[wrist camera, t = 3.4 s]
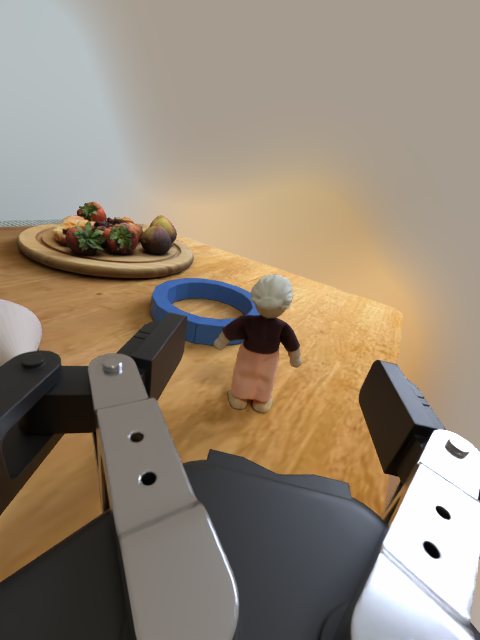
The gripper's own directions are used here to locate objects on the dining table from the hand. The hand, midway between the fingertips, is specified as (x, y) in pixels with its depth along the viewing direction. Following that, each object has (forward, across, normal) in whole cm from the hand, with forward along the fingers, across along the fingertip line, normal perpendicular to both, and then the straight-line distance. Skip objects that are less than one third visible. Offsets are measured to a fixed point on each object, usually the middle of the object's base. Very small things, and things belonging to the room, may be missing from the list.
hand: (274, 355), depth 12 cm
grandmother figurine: (+11, 0, +13) cm, 17 cm away
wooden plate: (+45, +32, +12) cm, 57 cm away
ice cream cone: (+8, +21, +13) cm, 26 cm away
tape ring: (+27, +8, +12) cm, 30 cm away
